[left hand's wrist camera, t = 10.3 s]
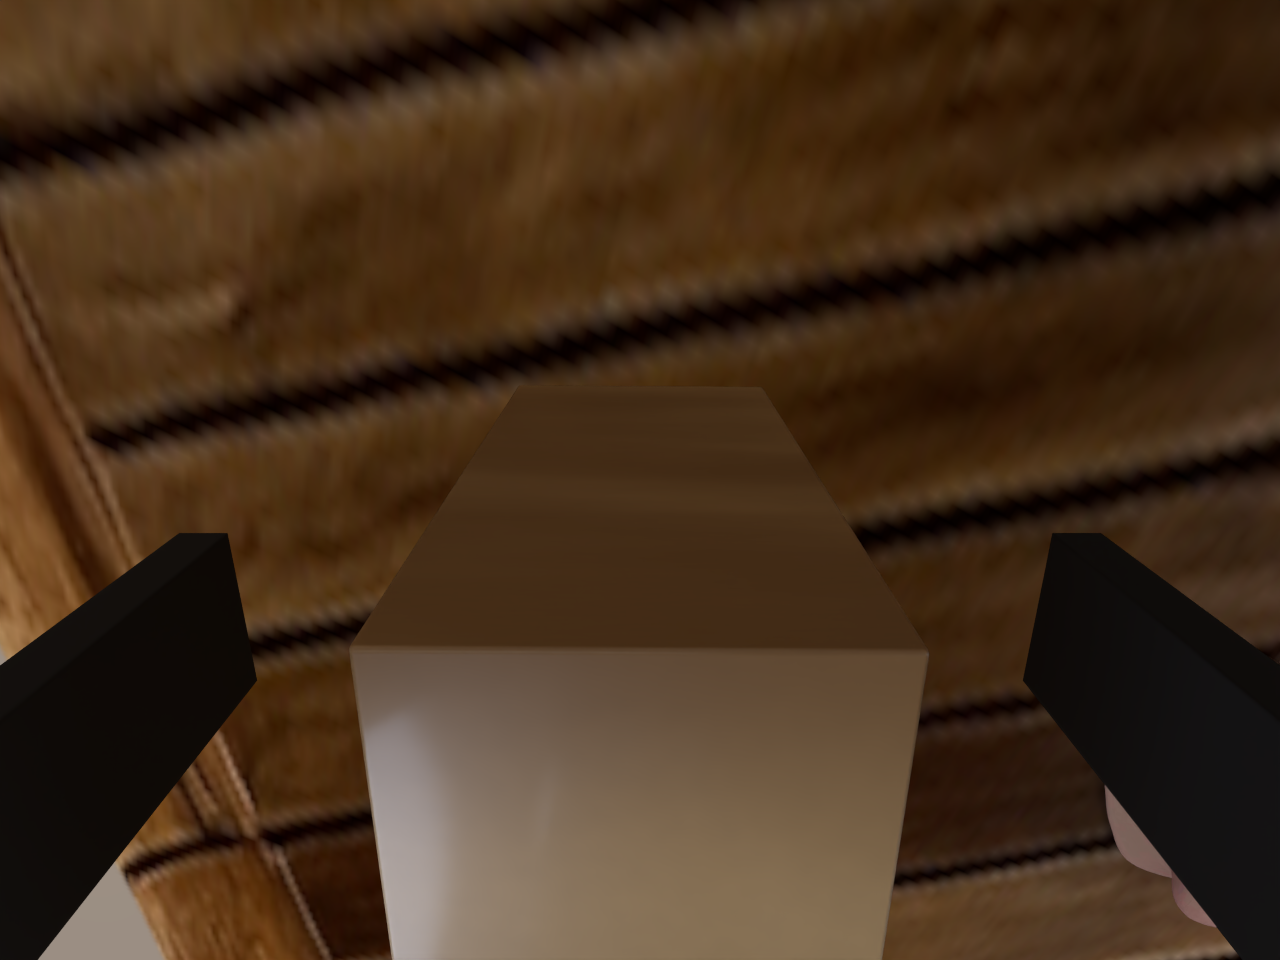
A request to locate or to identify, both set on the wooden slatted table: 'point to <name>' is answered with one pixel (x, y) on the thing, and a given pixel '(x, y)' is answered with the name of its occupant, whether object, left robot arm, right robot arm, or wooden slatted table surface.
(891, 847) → the bar
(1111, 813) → the anatomical model
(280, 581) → the wooden slatted table surface
